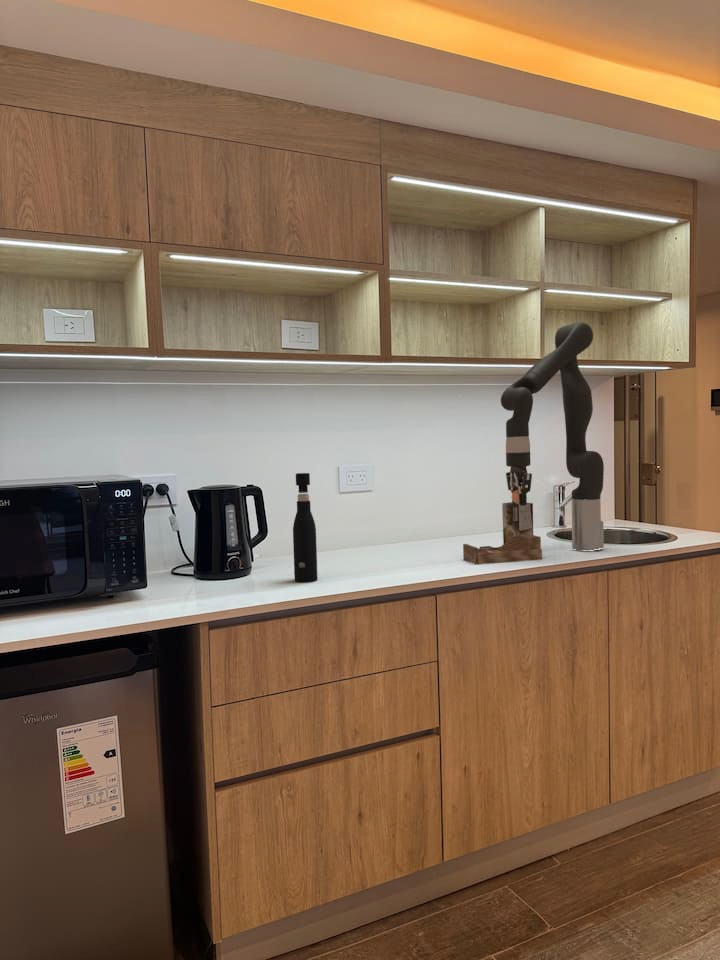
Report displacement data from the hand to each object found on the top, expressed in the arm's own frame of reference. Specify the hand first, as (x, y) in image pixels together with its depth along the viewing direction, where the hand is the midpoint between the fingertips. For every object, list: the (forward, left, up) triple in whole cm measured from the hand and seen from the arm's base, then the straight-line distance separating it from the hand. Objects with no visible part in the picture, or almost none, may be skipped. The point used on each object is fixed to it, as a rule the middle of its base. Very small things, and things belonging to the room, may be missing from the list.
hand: (519, 504), depth 215 cm
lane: (+7, +1, -17) cm, 18 cm away
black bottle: (+71, +10, -17) cm, 74 cm away
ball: (0, 0, 0) cm, 0 cm away
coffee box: (-7, -15, -17) cm, 24 cm away
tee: (+7, -10, -17) cm, 21 cm away
